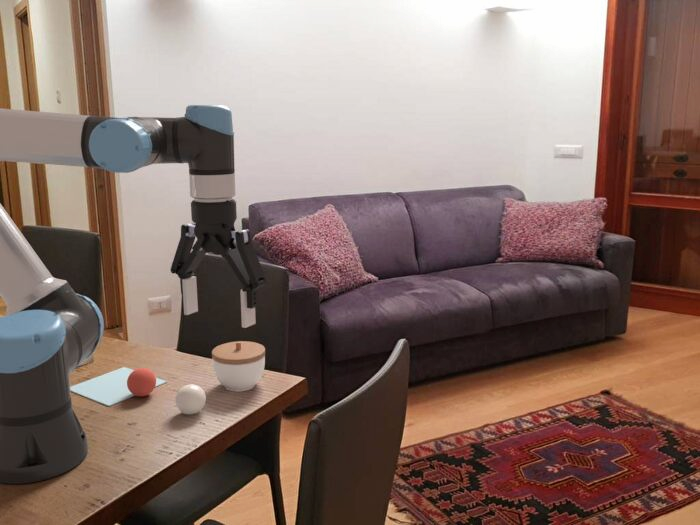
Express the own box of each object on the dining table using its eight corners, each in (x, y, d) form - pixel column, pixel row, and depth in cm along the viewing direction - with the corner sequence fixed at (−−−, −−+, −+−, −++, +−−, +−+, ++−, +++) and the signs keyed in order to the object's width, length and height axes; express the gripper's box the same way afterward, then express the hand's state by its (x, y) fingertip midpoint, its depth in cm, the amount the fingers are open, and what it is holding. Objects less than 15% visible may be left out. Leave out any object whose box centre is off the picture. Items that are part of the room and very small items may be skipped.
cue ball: (194, 422, 120) (192, 393, 119) (170, 416, 123) (168, 388, 121) (212, 409, 125) (211, 382, 124) (188, 404, 127) (187, 377, 126)
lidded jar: (271, 376, 141) (270, 334, 139) (259, 397, 131) (258, 352, 129) (221, 374, 142) (220, 332, 140) (206, 395, 132) (204, 350, 130)
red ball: (143, 403, 128) (141, 376, 127) (121, 398, 130) (119, 371, 129) (162, 392, 133) (161, 366, 132) (141, 387, 135) (139, 362, 134)
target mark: (167, 382, 138) (167, 381, 138) (109, 406, 127) (108, 405, 127) (124, 367, 146) (124, 366, 146) (66, 389, 134) (65, 388, 134)
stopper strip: (48, 376, 141) (46, 365, 140) (42, 374, 142) (41, 363, 141) (93, 361, 149) (92, 350, 149) (88, 359, 151) (87, 348, 150)
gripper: (285, 201, 109) (288, 325, 114) (177, 191, 122) (184, 303, 127) (256, 207, 103) (260, 337, 107) (145, 196, 116) (153, 313, 120)
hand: (219, 319), depth 117 cm, fingers open, 13 cm apart
